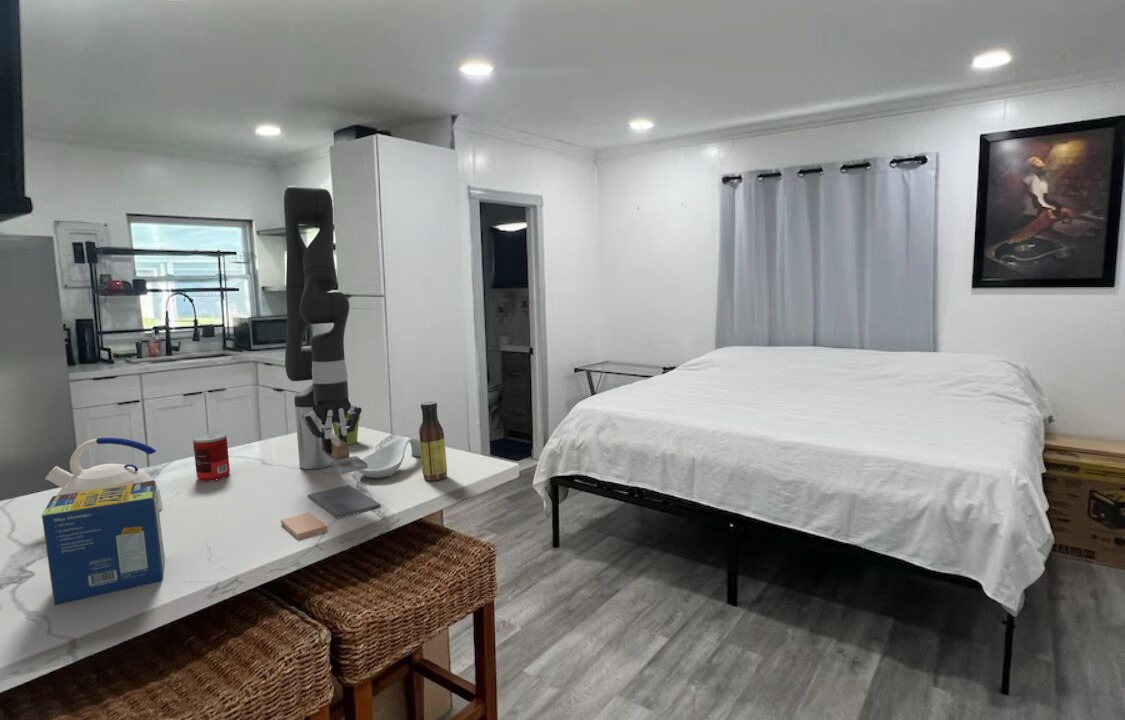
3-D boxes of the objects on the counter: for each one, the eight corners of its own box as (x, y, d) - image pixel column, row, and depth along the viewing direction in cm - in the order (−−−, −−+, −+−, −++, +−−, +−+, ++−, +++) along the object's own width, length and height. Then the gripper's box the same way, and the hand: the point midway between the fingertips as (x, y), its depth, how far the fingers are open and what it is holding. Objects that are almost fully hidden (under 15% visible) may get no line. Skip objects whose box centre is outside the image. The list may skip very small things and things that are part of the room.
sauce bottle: (450, 474, 165) (446, 400, 162) (443, 482, 159) (439, 405, 156) (425, 473, 165) (422, 400, 163) (418, 481, 159) (414, 405, 156)
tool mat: (307, 496, 150) (307, 494, 150) (348, 486, 156) (348, 484, 156) (337, 518, 136) (337, 515, 136) (380, 506, 143) (380, 503, 143)
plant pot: (368, 442, 197) (366, 415, 195) (339, 449, 190) (337, 421, 189) (354, 437, 203) (352, 411, 202) (325, 443, 197) (323, 416, 196)
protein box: (63, 579, 111) (51, 495, 109) (165, 558, 119) (156, 479, 117) (52, 606, 102) (39, 515, 100) (163, 581, 110) (154, 496, 108)
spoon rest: (385, 485, 158) (383, 457, 157) (347, 480, 162) (345, 453, 161) (436, 458, 180) (435, 433, 179) (401, 454, 184) (400, 430, 183)
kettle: (70, 507, 146) (59, 432, 143) (172, 495, 153) (164, 422, 150) (32, 542, 127) (20, 456, 124) (152, 526, 134) (142, 444, 132)
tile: (280, 519, 133) (297, 534, 126) (309, 512, 137) (327, 525, 130) (281, 526, 134) (298, 541, 126) (309, 519, 138) (327, 532, 130)
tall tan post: (314, 451, 149) (313, 435, 148) (339, 446, 153) (338, 430, 152) (341, 474, 138) (341, 457, 137) (367, 468, 141) (367, 451, 141)
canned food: (232, 470, 171) (228, 431, 169) (227, 479, 164) (223, 438, 162) (200, 473, 169) (196, 434, 167) (193, 483, 161) (189, 441, 160)
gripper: (352, 374, 152) (357, 443, 154) (293, 381, 143) (299, 455, 145) (365, 377, 146) (370, 449, 149) (304, 385, 137) (311, 462, 140)
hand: (335, 451), depth 147 cm, fingers closed on tall tan post, 2 cm apart
